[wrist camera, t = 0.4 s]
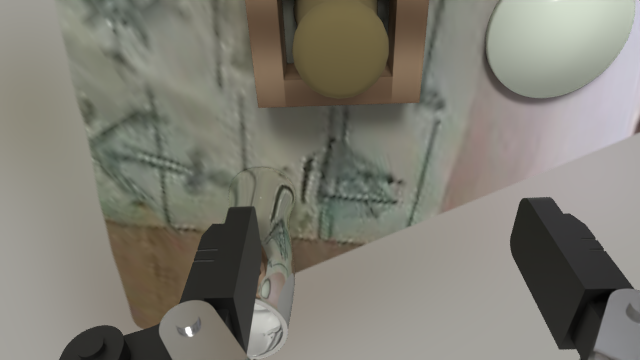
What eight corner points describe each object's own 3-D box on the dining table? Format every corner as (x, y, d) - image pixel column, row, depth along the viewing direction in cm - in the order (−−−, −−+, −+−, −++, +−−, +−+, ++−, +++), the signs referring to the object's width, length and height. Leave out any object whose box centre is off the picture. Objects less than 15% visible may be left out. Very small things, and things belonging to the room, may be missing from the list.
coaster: (499, -44, 30) (503, -42, 29) (650, -50, 29) (658, -48, 29) (475, 96, 35) (478, 100, 35) (602, 92, 35) (608, 96, 34)
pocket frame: (244, -81, 28) (235, -77, 26) (425, -89, 28) (437, -86, 25) (263, 89, 35) (258, 107, 32) (411, 84, 35) (419, 102, 32)
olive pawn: (386, 38, 33) (411, 98, 24) (308, 61, 34) (303, 127, 25) (367, -50, 30) (388, -19, 20) (281, -22, 30) (264, 19, 21)
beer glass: (298, 225, 43) (289, 366, 30) (226, 221, 42) (187, 361, 30) (302, 164, 39) (293, 296, 26) (222, 159, 39) (175, 291, 26)
